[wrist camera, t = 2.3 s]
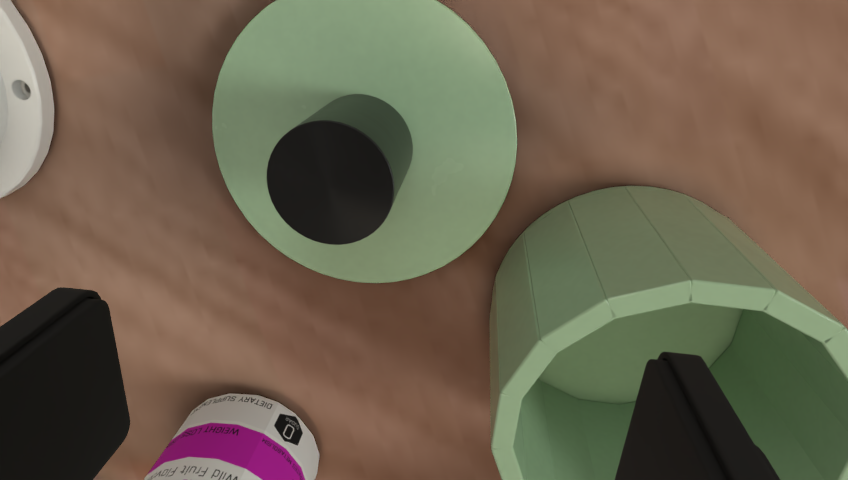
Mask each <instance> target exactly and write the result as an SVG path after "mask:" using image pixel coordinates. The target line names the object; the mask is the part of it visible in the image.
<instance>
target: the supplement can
mask: <svg viewBox="0 0 848 480" xmlns="http://www.w3.org/2000/svg"><path fill="white" fill-rule="evenodd" d="M318 463H319V452H318V448H317V445H316V442H315V439H314V436H313V435H312V433H311V432H310V431H309V430H308V428H307V427H306V426H305V424H304V423H303V422H302V421H301V419H300V418H299V417H298V416H297V415H296V414H295V413H293V412H292V411H291V410H289V409H288V408H286V407H285V406H283V405H282V404H280V403H279V402H277V401H274V400H271V399H268V398H265V397H262V396H259V395H249V394H232V393H229V394H225V395H221V396H217V397H214V398H210V399H207V400H206V401H205V402H203V403H202V404H201V405H199V406H198V407H196V408H195V409H194V410H192V412H191V413H190V415H189V416H188V417H187V419H186V420H185V422H184V423H183V425H182V426H181V427H180V429H179V430H178V432H177V433H176V434H175V436H174V437H173V439H172V440H171V442H170V443H169V444H168V446H167V447H166V449H165V450H164V452H163V453H162V454H161V456H160V457H159V459H158V460H157V461H156V463H155V464H154V466H153V467H152V469H151V470H150V471H149V473H148V474H147V476H146V477H145V479H144V480H315V478H316V475H317V471H318Z"/></svg>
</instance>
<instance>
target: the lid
mask: <svg viewBox="0 0 848 480" xmlns="http://www.w3.org/2000/svg"><path fill="white" fill-rule="evenodd" d="M212 132H213V140H214V147H215V152H216V156H217V160H218V164H219V168H220V171H221V173H222V176H223V178H224V181H225V183H226V186H227V188H228V190H229V192H230V194H231V195H232V197H233V199H234V201H235V203H236V205H237V206H238V207H239V209H240V210H241V212H242V213H243V215H244V216H245V217H246V219H247V220H248V221H249V223H250V224H251V225H252V226H253V227H254V228H255V229H256V230H257V232H258V233H259V234H260V235H261V236H262V237H263V238H265V239H266V240H267V241H268V242H269V243H270V244H271V245H272V246H273V247H275V248H276V249H278V250H279V251H280V252H282V253H283V254H284V255H286V256H287V257H289V258H290V259H292V260H294V261H296V262H297V263H299V264H301V265H303V266H304V267H307V268H309V269H311V270H314V271H316V272H319V273H321V274H324V275H327V276H331V277H334V278H337V279H342V280H347V281H353V282H363V283H387V282H396V281H402V280H407V279H412V278H415V277H418V276H421V275H424V274H427V273H430V272H432V271H434V270H436V269H438V268H441V267H443V266H445V265H446V264H448V263H449V262H451V261H453V260H454V259H456V258H458V257H459V256H460V255H461V254H463V253H464V252H465V251H466V250H468V249H469V248H470V247H471V246H472V245H473V244H474V243H475V242H476V241H477V240H478V239H479V238H480V237H481V236H482V235H483V234H484V233H485V231H486V230H487V229H488V227H489V226H490V225H491V223H492V222H493V220H494V219H495V218H496V216H497V214H498V212H499V210H500V208H501V206H502V204H503V203H504V201H505V198H506V195H507V193H508V190H509V187H510V185H511V182H512V177H513V173H514V168H515V163H516V152H517V128H516V118H515V113H514V108H513V102H512V98H511V95H510V92H509V89H508V86H507V83H506V80H505V78H504V76H503V74H502V72H501V70H500V68H499V66H498V64H497V62H496V60H495V58H494V57H493V55H492V54H491V52H490V51H489V49H488V48H487V46H486V45H485V43H484V41H483V40H482V39H481V38H480V37H479V36H478V35H477V34H476V32H475V31H474V30H473V29H472V28H471V27H470V26H469V24H467V23H466V22H465V21H464V20H463V19H462V18H461V17H459V16H458V15H457V14H456V13H455V12H454V11H452V10H451V9H450V8H448V7H447V6H445V5H444V4H442V3H440V2H439V1H437V0H275V1H274V2H272V3H271V4H269V5H268V6H266V7H265V8H264V9H263V10H262V11H261V12H260V13H259V14H257V15H256V16H255V17H254V18H253V19H252V20H251V21H250V22H249V23H248V25H247V26H246V27H245V28H244V29H243V31H242V32H241V33H240V34H239V36H238V37H237V39H236V40H235V42H234V44H233V45H232V47H231V49H230V50H229V52H228V54H227V56H226V58H225V61H224V63H223V65H222V68H221V70H220V73H219V77H218V81H217V84H216V88H215V92H214V101H213V109H212Z"/></svg>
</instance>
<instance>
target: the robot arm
mask: <svg viewBox="0 0 848 480" xmlns="http://www.w3.org/2000/svg"><path fill="white" fill-rule="evenodd" d="M53 130H54V101H53V94H52V87H51V81H50V78H49V75H48V71H47V68H46V65H45V62H44V59H43V55H42V53H41V51H40V49H39V47H38V45H37V43H36V41H35V39H34V37H33V35H32V33H31V31H30V29H29V27H28V25H27V24H26V22H25V21H24V19H23V18H22V16H21V15H20V13H19V12H18V10H17V9H16V7H15V6H14V5H13V3H12V2H11V0H0V198H2V197H5V196H7V195H9V194H11V193H13V192H14V191H16V190H17V189H19V188H21V187H22V186H24V185H25V184H26V183H27V182H28V181H29V180H30V179H31V178H32V177H33V176H34V175H35V174H36V173H37V172H38V170H39V168H40V167H41V165H42V163H43V161H44V159H45V157H46V156H47V154H48V151H49V147H50V143H51V139H52V135H53ZM129 426H130V417H129V412H128V406H127V401H126V396H125V391H124V385H123V380H122V375H121V369H120V364H119V359H118V353H117V348H116V343H115V337H114V332H113V327H112V321H111V316H110V311H109V307H108V304H107V303H106V302H105V301H104V300H101V298H100V296H99V295H98V293H97V292H95V291H92V290H83V289H73V288H57V289H55V290H53V291H51V292H50V293H48V294H47V295H46V296H44V297H43V298H41V299H40V300H38V301H37V302H36V303H34V304H33V305H31V306H30V307H28V308H27V309H25V310H24V311H23V312H21V313H20V314H18V315H17V316H15V317H14V318H12V319H11V320H10V321H8V322H7V323H5V324H4V325H2V326H1V327H0V480H93V479H94V477H95V476H96V475H97V474H98V472H99V471H100V470H101V469H102V467H103V466H104V465H105V464H106V462H107V461H108V460H109V459H110V457H111V456H112V455H113V454H114V452H115V451H116V450H117V449H118V447H119V446H120V445H121V444H122V442H123V441H124V439H125V438H126V436H127V433H128V430H129ZM615 480H780V478H779V477H778V475H777V473H776V472H775V470H774V469H773V467H772V465H771V464H770V462H769V460H768V459H767V457H766V455H765V454H764V453H763V452H762V450H761V449H760V448H759V447H758V446H756V445H755V444H754V443H753V441H752V439H751V438H750V436H749V434H748V433H747V431H746V429H745V428H744V426H743V424H742V423H741V421H740V419H739V418H738V416H737V414H736V413H735V411H734V409H733V408H732V406H731V404H730V403H729V401H728V399H727V398H726V396H725V395H724V393H723V391H722V390H721V388H720V386H719V385H718V383H717V381H716V380H715V378H714V376H713V375H712V373H711V371H710V370H709V368H708V366H707V365H706V363H705V361H704V360H703V359H702V357H701V356H698V355H692V354H683V353H673V352H662V353H661V354H660V355H659V357H658V359H650V360H648V362H647V364H646V367H645V370H644V374H643V377H642V381H641V385H640V388H639V392H638V396H637V399H636V403H635V407H634V410H633V414H632V418H631V421H630V425H629V429H628V432H627V436H626V440H625V443H624V447H623V451H622V454H621V458H620V462H619V465H618V469H617V473H616V476H615Z"/></svg>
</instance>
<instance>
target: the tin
mask: <svg viewBox="0 0 848 480" xmlns="http://www.w3.org/2000/svg"><path fill="white" fill-rule="evenodd" d="M489 319H490V426H491V451H492V454H493V456H494V459H495V462H496V465H497V468H498V471H499V473H500V476H501V479H502V480H615V476H616V473H617V469H618V465H619V462H620V458H621V454H622V451H623V447H624V443H625V440H626V436H627V432H628V429H629V425H630V421H631V418H632V414H633V410H634V407H635V403H636V399H637V396H638V392H639V388H640V385H641V381H642V377H643V374H644V370H645V367H646V364H647V362H648V360H650V359H658V357H659V355H660V354H661V353H662V352H673V353H683V354H692V355H698V356H701V357H702V359H703V360H704V361H705V363H706V365H707V366H708V368H709V370H710V371H711V373H712V375H713V376H714V378H715V380H716V381H717V383H718V385H719V386H720V388H721V390H722V391H723V393H724V395H725V396H726V398H727V399H728V401H729V403H730V404H731V406H732V408H733V409H734V411H735V413H736V414H737V416H738V418H739V419H740V421H741V423H742V424H743V426H744V428H745V429H746V431H747V433H748V434H749V436H750V438H751V439H752V441H753V443H754V444H755V445H756V446H758V447H759V448H760V449H761V450H762V452H763V453H764V454H765V455H766V457H767V459H768V460H769V462H770V464H771V465H772V467H773V469H774V470H775V472H776V473H777V475H778V477H779V478H780V480H848V330H847V328H846V327H845V326H844V325H843V324H842V323H841V322H840V321H839V320H837V319H836V318H835V317H834V316H833V315H832V314H831V313H830V312H829V311H828V310H827V309H826V308H825V307H823V306H822V305H821V304H820V303H819V302H818V301H817V300H816V299H815V298H814V297H813V296H812V295H811V294H809V293H808V292H807V291H806V290H805V289H804V288H803V287H802V286H801V285H800V284H799V283H798V282H797V281H795V280H794V279H793V278H792V277H791V276H790V275H789V274H788V273H787V272H786V271H785V270H784V269H783V268H782V267H780V266H779V265H778V264H777V263H776V262H775V261H774V260H773V259H772V258H771V257H770V256H769V255H768V254H766V253H765V252H764V251H763V250H762V249H761V248H760V247H759V246H758V245H757V244H756V243H755V242H754V241H752V240H751V239H750V238H749V237H748V236H747V235H746V234H745V233H744V232H743V231H742V230H741V229H740V228H738V227H737V226H736V225H735V224H734V223H733V222H732V221H731V220H730V219H729V218H727V217H725V216H724V215H722V214H720V213H718V212H717V211H715V210H713V209H712V208H710V207H709V206H707V205H706V204H704V203H703V202H701V201H698V200H696V199H694V198H692V197H690V196H688V195H685V194H682V193H678V192H675V191H672V190H668V189H662V188H657V187H651V186H621V187H611V188H606V189H601V190H596V191H592V192H589V193H586V194H583V195H580V196H577V197H574V198H572V199H570V200H568V201H566V202H563V203H561V204H559V205H558V206H556V207H554V208H553V209H551V210H549V211H548V212H546V213H544V214H543V215H542V216H541V217H539V218H538V219H537V220H536V221H534V222H533V223H532V224H531V225H530V226H529V227H528V228H527V229H526V230H525V231H524V232H523V233H522V234H521V235H520V236H519V237H518V238H517V239H516V241H515V242H514V243H513V245H512V246H511V247H510V249H509V250H508V252H507V254H506V256H505V257H504V259H503V261H502V263H501V265H500V268H499V270H498V272H497V275H496V276H495V283H494V287H493V292H492V303H491V310H490V317H489Z"/></svg>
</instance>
